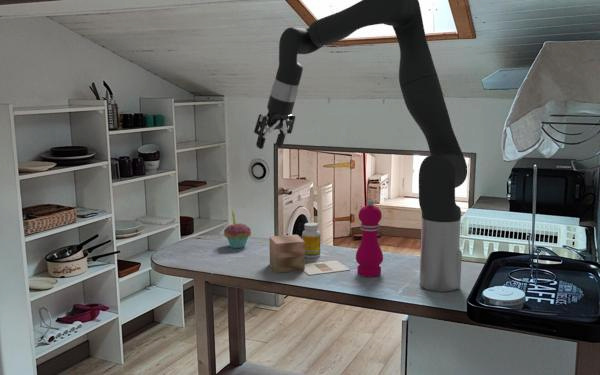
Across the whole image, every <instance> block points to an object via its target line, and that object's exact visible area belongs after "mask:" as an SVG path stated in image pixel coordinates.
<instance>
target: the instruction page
mask: <svg viewBox="0 0 600 375" xmlns="http://www.w3.org/2000/svg"><path fill="white" fill-rule="evenodd" d="M302 271H303V272H304V273H305V274H307V275H308V276H316V275H322V274H330V273H331V274H332V273H338V272H345V271H351V269H350V268H348V267H347V266H346V265H344V264H343V263H341V262H340V261H338V260H329V261H328V260H327V261H321V262H320V261H319V262H313V263H305V269H304V270H302Z"/></svg>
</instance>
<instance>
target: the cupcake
mask: <svg viewBox="0 0 600 375" xmlns="http://www.w3.org/2000/svg"><path fill="white" fill-rule="evenodd" d="M231 211H232V212H231V215H232V216H231V217H232V224H230V225H228V226H226V227H225V228H224V230H223V236H224V237H225V238H226V239H227V240H228V241H227V242H228V244H229V246H230V248H233V249H241V248H245V247H246V246H245V245H246V244H247V243H248V242H247V241H248V239H249V237H251V235H252V231H251V228H250V226H247V225H246V224H243V223H236V217H235V216H236V215H235V212H234V210H233V209H232V210H231ZM244 246H245V247H244Z"/></svg>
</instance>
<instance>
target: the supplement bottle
mask: <svg viewBox="0 0 600 375" xmlns="http://www.w3.org/2000/svg"><path fill="white" fill-rule="evenodd" d="M318 229H319V223H317V222H306V223H304V230H303V231H302V234H301V239H302V240H304V241H305V258H307V259H308V258H309V259H310V258H311V259H312V258H313V259H315V258H319V257H320V256H321V231H319V230H318Z"/></svg>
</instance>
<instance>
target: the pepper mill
mask: <svg viewBox="0 0 600 375" xmlns="http://www.w3.org/2000/svg"><path fill="white" fill-rule="evenodd" d="M374 204H375V203H374V200H372V199H368V200H367V201H366V205H365V206H362V207H361V208H360V210H359V212H358V220H359V221H360V222H361V223H360V224H359V225H360V227H359V229H360V230H361V241H360V244H359V246H358V248H357V249H356V250H357V251H356V253H355V261H356V263H357V264H358V266H357V274H358V275H359V276H361V277H365V278H374V277H375V278H377V277H379V276H381V274H382V267H381V266H380V265H381V264H382V263H383V261H384V255H383V251H382V248H381V245H380V243H379V239H378V231H379V230H380V224H379V222H380V221H381V220H382V216H383V215H382V211H381V209H380V208H379V207H378V206H376V205H374Z"/></svg>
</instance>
